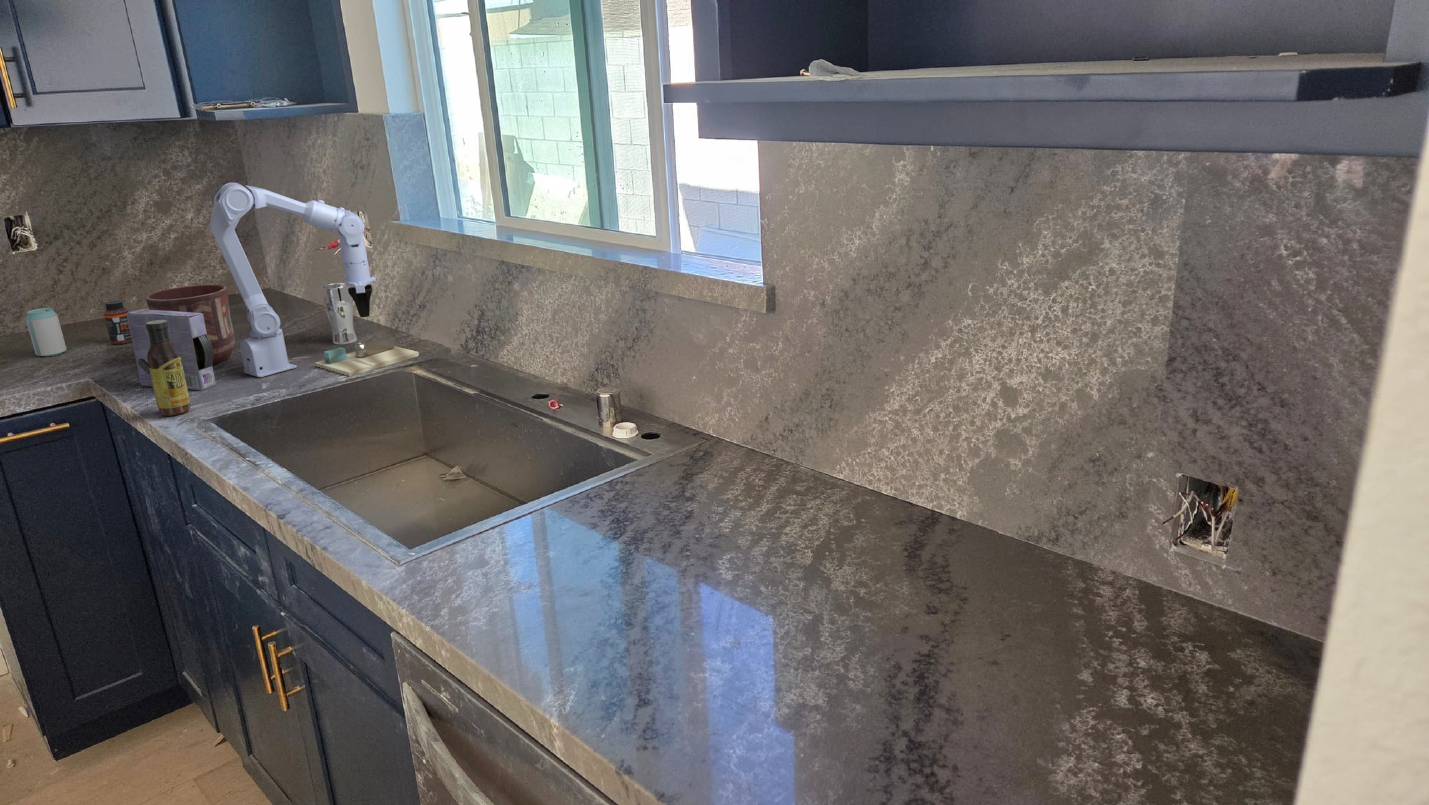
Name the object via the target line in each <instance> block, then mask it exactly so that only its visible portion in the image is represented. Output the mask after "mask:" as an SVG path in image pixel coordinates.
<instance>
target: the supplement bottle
mask: <svg viewBox="0 0 1429 805" xmlns="http://www.w3.org/2000/svg"><path fill="white" fill-rule="evenodd" d="M104 306H105V308H106V309H105V311H104V312H103V316H104V317H103V318H104V322H105V325H106V330H107V333H108V334H107V335H108V337H109V341H110V344H112V345H124V344H125V345H126V344H129V343H133V342H132V337H131V332H130V327H129V322H128V317H127V314H128V312H129V309H128V308H126V307H124V304H123V301H122V300H110V301H107V302H105V303H104Z"/></svg>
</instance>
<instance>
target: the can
mask: <svg viewBox="0 0 1429 805" xmlns="http://www.w3.org/2000/svg"><path fill="white" fill-rule="evenodd" d="M26 314H27V315H26V317H25V322H26V324H27V329H28V333H29V337H30V338H31V339H30V340H31V343H32V346H33V349H34V354H35V355H36V356H37V357H40V356H52V357H56V356H55V355H57V356H59V355H58V354H60V355H62V354H61V353H63V352H64V353H65V352H66V351H67V346H66V342H65V338H64V334H63V331H62V327H61V324H60V321H59V316H58V313H57V312H55V311H54V308H53V307H42V308H35V309H32V310H28V311H27V312H26ZM64 353H63V354H64Z"/></svg>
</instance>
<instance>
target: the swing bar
mask: <svg viewBox="0 0 1429 805" xmlns="http://www.w3.org/2000/svg"><path fill="white" fill-rule="evenodd" d="M353 346H354V347H353V348H354V352H355V353H356V357H357V358H362V357H366V356H368V355H372V354H375V353H379V352H382V351H386V350H389V349H393V348H394V346H395V344H394V338H393V336H383V337H380V338H377V339H373V340H369V341H366V342H361V341H360V342H359V341H358V342H357V343H354V344H353Z"/></svg>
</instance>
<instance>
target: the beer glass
mask: <svg viewBox="0 0 1429 805" xmlns="http://www.w3.org/2000/svg"><path fill="white" fill-rule="evenodd" d="M348 288H350V286H349V285H346V282H335V283H334V282H333V283H328V284H325V285H322V286H321V291H322V300H323V305H324V306H323V307H324V310H325V313H326V315H327V318H328V321H329V324H330V326H331V330H332V331H331V332H332V343H333V345H348V344H352V343H355V342H357V341H358V337H357V335H356V332H355V328H354V320H353V319H354V305H353V304H354V302H353V298H352V297H351V296H350V294H349V293H348Z"/></svg>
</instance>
